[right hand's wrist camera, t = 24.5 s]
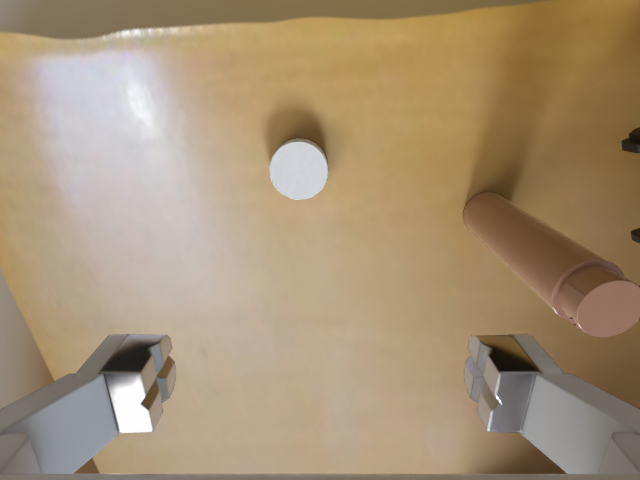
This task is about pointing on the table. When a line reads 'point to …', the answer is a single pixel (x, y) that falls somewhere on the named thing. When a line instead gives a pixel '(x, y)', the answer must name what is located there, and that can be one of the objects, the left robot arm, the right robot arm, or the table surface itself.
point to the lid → (299, 169)
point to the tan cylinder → (556, 266)
